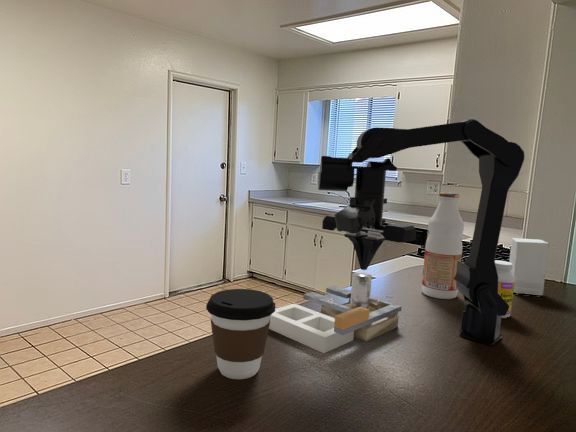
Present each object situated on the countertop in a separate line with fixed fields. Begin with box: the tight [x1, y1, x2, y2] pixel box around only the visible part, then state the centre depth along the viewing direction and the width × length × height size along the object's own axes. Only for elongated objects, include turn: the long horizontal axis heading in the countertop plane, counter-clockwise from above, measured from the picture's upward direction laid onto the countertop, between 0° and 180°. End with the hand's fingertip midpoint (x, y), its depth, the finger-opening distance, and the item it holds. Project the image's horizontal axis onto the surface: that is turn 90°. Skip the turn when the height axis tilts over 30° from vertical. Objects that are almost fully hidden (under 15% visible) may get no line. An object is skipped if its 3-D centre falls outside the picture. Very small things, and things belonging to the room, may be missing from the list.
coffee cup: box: [205, 288, 276, 380], centre depth 68 cm, size 11×11×12 cm
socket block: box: [319, 298, 399, 342], centre depth 90 cm, size 12×12×4 cm
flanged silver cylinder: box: [344, 272, 376, 313], centre depth 90 cm, size 7×7×11 cm
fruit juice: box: [421, 191, 465, 300], centre depth 115 cm, size 9×9×28 cm
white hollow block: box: [269, 303, 354, 354], centre depth 84 cm, size 16×9×3 cm, turn 46°
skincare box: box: [508, 237, 550, 296], centre depth 122 cm, size 8×7×16 cm
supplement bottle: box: [495, 259, 515, 319], centre depth 102 cm, size 7×7×13 cm
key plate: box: [302, 285, 403, 335], centre depth 88 cm, size 18×20×3 cm
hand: (363, 269), depth 86 cm, fingers closed
